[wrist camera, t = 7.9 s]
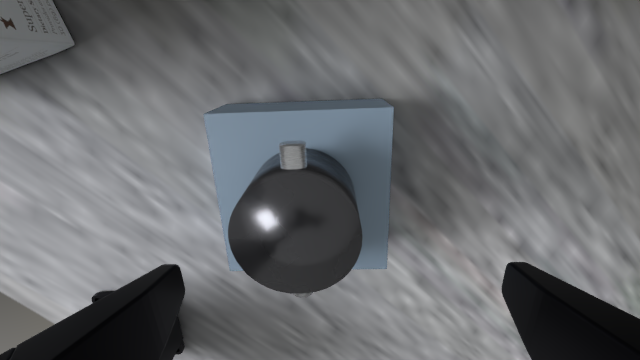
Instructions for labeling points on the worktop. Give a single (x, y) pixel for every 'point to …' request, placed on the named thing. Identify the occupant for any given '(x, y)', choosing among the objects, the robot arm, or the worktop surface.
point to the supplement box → (30, 32)
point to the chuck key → (297, 222)
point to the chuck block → (320, 134)
